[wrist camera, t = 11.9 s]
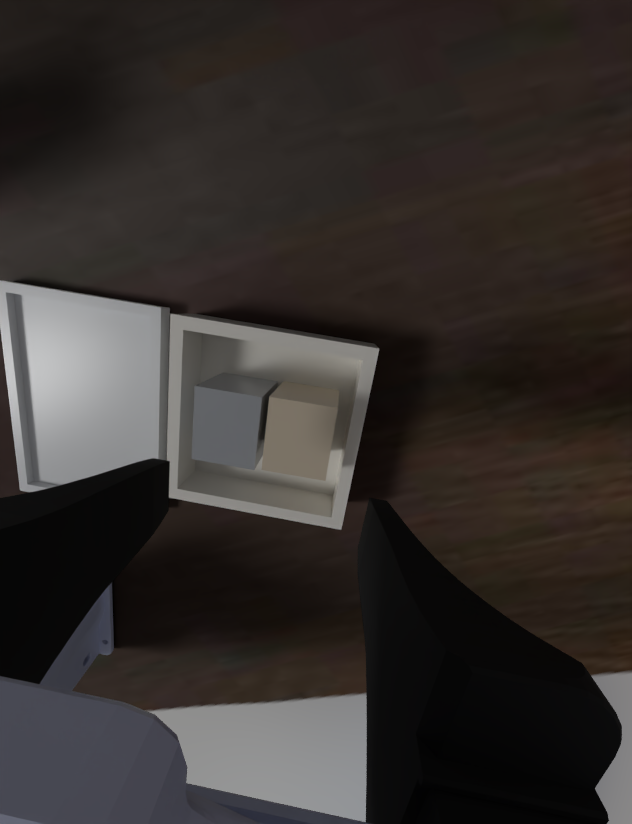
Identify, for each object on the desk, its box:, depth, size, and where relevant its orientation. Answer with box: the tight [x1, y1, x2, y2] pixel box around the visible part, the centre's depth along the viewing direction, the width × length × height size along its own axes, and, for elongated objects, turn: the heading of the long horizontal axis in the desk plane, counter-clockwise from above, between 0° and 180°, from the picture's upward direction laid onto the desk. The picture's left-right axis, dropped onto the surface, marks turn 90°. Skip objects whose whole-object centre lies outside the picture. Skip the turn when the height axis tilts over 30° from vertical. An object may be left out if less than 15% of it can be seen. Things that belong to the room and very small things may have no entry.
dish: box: [167, 314, 379, 530], centre depth 20 cm, size 11×11×3 cm
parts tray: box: [0, 280, 170, 492], centre depth 22 cm, size 14×10×1 cm
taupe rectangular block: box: [261, 381, 339, 481], centre depth 19 cm, size 4×3×4 cm
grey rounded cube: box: [191, 372, 278, 470], centre depth 19 cm, size 4×3×4 cm
